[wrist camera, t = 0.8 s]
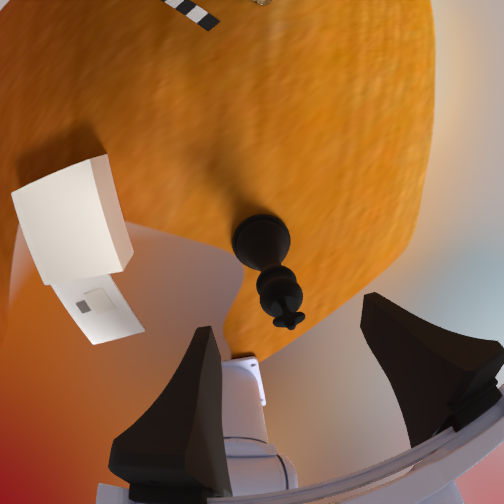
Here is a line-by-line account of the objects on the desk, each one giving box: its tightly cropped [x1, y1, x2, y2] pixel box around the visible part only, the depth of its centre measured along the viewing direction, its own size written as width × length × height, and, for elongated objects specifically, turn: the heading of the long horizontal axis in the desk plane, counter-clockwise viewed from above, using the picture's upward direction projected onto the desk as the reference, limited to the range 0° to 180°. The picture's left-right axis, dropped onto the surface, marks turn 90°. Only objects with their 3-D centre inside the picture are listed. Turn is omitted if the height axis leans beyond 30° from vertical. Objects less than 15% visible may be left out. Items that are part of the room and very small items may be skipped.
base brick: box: [11, 154, 134, 285], centre depth 17 cm, size 8×8×3 cm
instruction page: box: [50, 274, 146, 345], centre depth 22 cm, size 9×7×1 cm
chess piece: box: [233, 215, 305, 330], centre depth 16 cm, size 4×4×10 cm
